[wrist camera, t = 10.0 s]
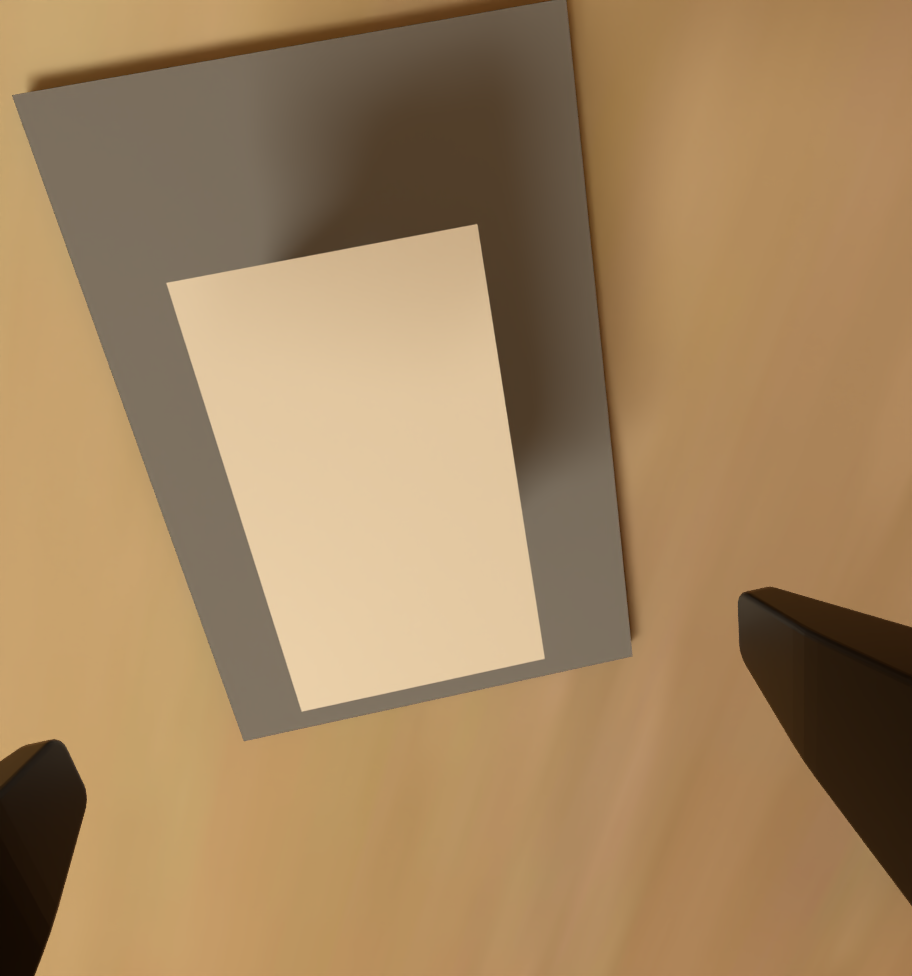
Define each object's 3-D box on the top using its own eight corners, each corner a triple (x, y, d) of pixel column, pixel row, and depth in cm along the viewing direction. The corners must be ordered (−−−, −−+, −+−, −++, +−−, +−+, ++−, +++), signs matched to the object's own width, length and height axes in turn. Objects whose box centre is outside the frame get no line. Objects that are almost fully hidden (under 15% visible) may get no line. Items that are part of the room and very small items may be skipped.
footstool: (502, 555, 22) (545, 658, 16) (322, 592, 21) (301, 711, 16) (448, 234, 18) (477, 224, 13) (233, 275, 18) (166, 283, 12)
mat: (560, 6, 17) (566, -2, 17) (626, 647, 24) (632, 656, 24) (24, 100, 17) (12, 95, 16) (247, 729, 24) (244, 741, 23)
